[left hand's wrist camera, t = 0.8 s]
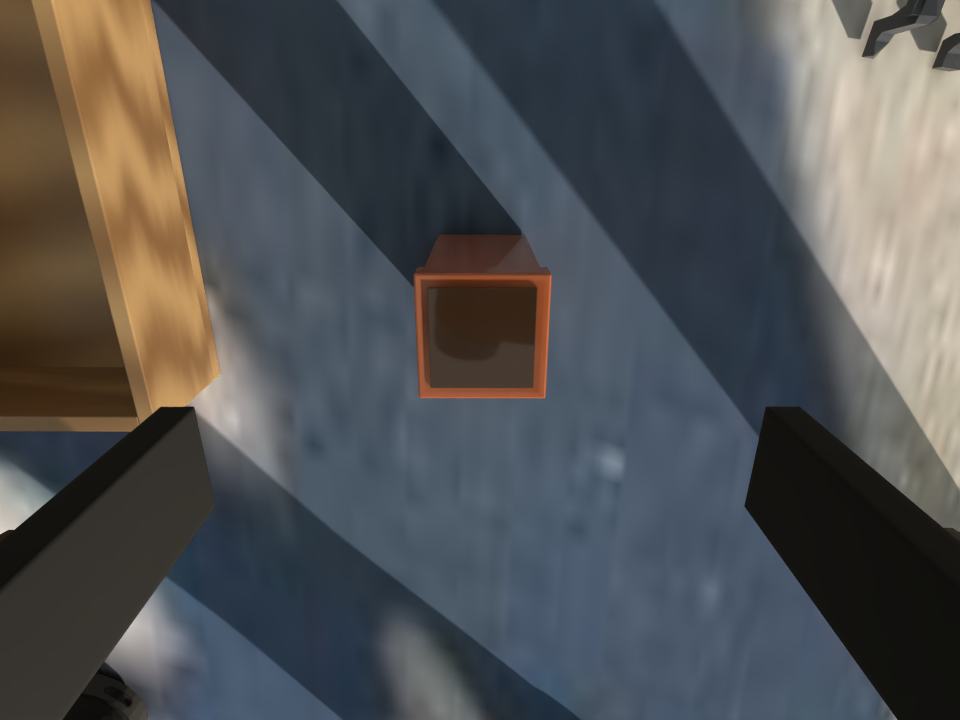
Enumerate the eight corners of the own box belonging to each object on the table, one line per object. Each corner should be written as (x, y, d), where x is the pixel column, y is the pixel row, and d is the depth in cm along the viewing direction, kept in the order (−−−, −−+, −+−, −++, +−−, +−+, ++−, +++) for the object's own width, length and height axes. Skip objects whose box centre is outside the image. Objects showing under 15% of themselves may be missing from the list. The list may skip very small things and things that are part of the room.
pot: (525, 321, 31) (545, 400, 22) (436, 321, 31) (418, 399, 22) (529, 230, 29) (552, 274, 20) (434, 230, 29) (412, 274, 20)
